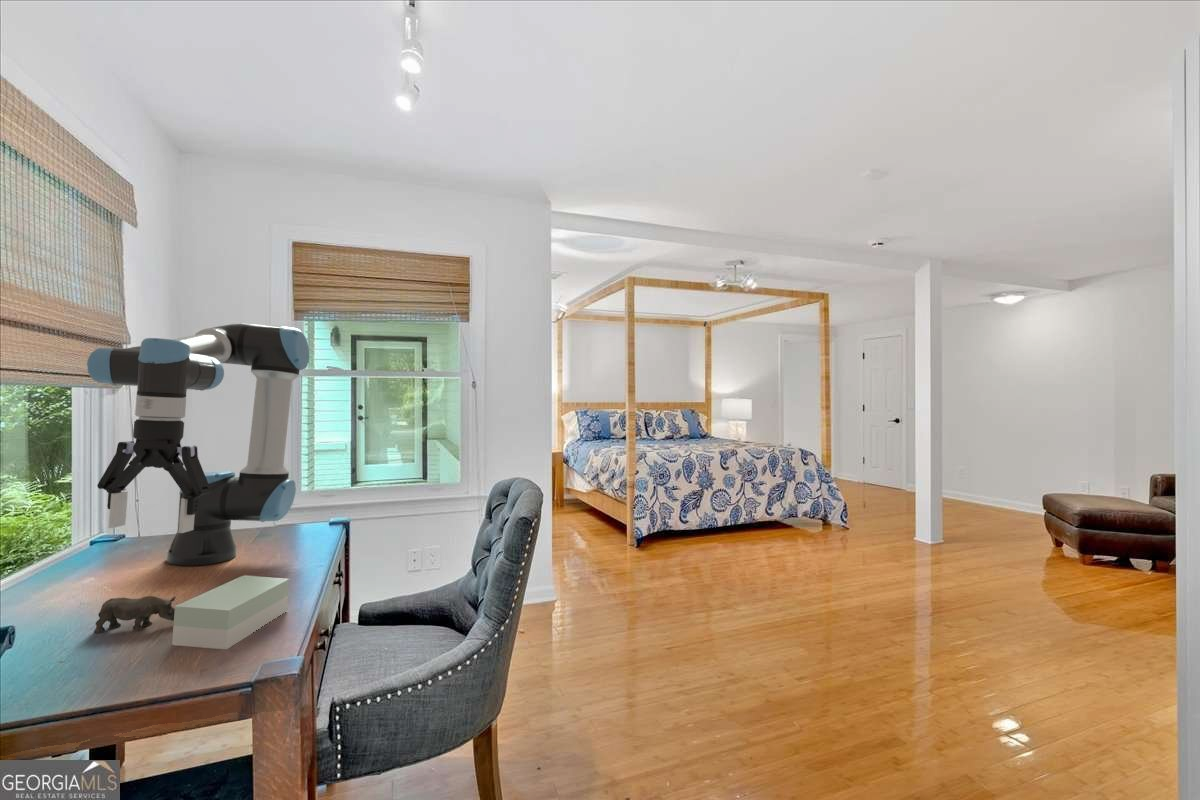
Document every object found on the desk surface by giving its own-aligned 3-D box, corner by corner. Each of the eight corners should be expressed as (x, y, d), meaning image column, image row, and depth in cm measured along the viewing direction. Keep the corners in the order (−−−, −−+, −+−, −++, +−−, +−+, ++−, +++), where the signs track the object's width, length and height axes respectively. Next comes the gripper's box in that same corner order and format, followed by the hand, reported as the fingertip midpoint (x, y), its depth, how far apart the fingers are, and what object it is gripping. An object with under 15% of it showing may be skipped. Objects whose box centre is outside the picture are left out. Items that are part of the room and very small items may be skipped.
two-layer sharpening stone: (241, 608, 115) (243, 575, 115) (287, 611, 115) (289, 578, 115) (172, 645, 97) (175, 606, 97) (226, 649, 97) (229, 610, 97)
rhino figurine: (181, 628, 104) (183, 597, 104) (90, 635, 99) (93, 602, 99) (188, 620, 108) (190, 590, 108) (101, 626, 103) (104, 594, 103)
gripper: (77, 414, 101) (68, 528, 101) (208, 423, 100) (200, 538, 100) (114, 414, 108) (106, 520, 108) (236, 422, 108) (228, 529, 108)
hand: (151, 529), depth 104 cm, fingers open, 13 cm apart
